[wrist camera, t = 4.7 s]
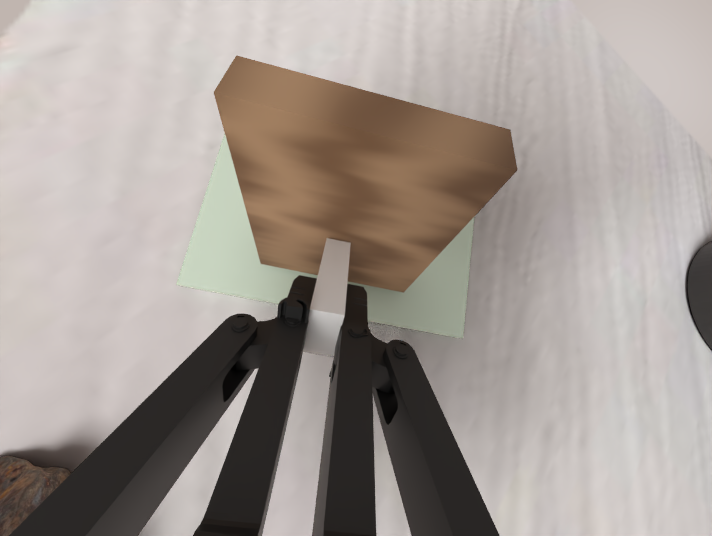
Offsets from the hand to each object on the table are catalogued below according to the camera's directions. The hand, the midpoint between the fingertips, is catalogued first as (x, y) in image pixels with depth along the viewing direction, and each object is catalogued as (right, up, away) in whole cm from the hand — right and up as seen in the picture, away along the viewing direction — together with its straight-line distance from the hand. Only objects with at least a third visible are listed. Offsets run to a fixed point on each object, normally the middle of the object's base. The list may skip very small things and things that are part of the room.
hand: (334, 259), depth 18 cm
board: (0, 0, +6) cm, 6 cm away
